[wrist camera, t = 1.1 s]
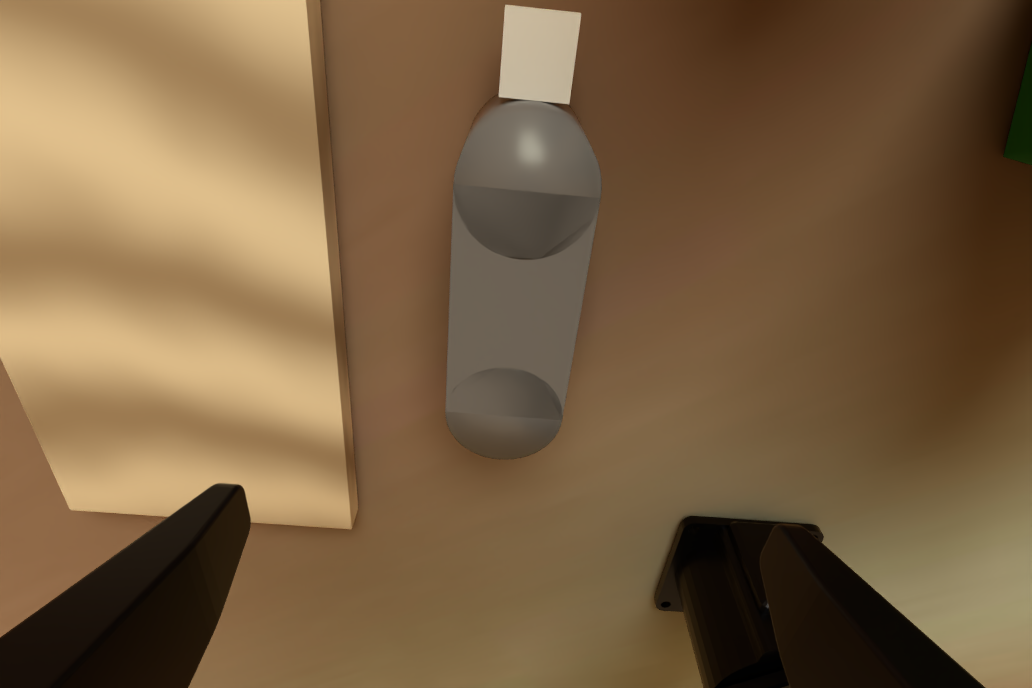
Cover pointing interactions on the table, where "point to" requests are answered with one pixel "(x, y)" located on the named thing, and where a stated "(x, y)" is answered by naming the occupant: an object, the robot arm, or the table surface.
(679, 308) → the table surface
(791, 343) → the table surface
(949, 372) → the table surface
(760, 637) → the robot arm
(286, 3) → the birch board
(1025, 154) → the milk carton
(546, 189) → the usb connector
